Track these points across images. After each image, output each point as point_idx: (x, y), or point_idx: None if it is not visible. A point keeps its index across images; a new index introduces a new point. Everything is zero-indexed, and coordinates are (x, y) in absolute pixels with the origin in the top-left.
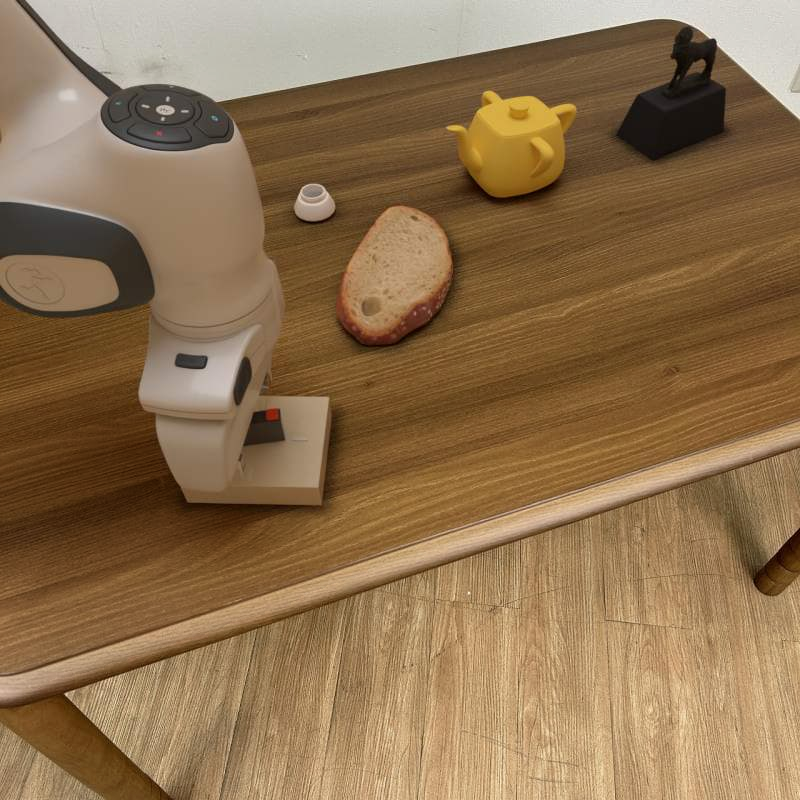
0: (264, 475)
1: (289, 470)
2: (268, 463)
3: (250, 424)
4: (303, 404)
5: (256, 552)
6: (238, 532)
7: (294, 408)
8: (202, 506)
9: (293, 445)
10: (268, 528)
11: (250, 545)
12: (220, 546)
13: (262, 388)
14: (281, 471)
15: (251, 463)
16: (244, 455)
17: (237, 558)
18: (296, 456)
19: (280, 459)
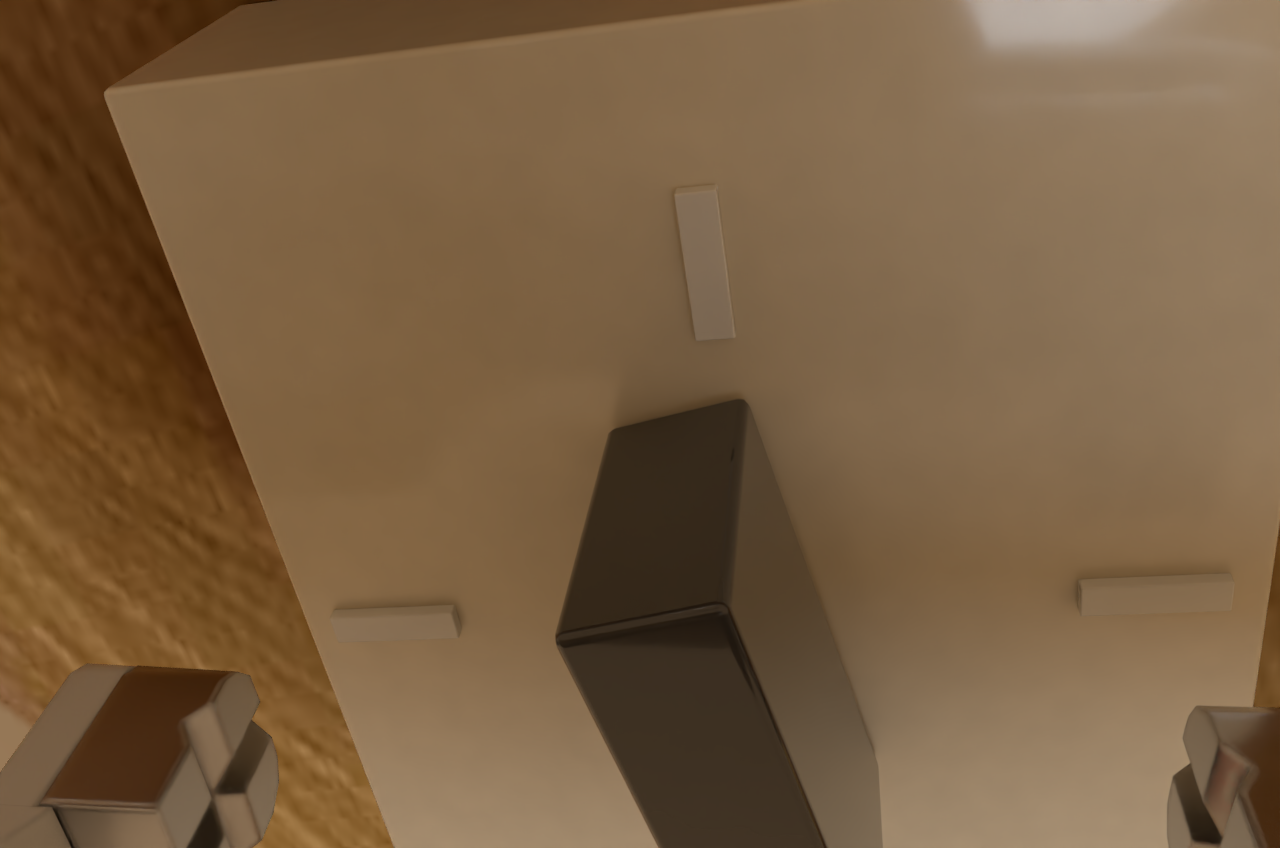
0: (427, 697)
1: (513, 819)
2: (531, 710)
3: (660, 842)
4: (1140, 844)
5: (94, 539)
6: (166, 421)
7: (1101, 791)
8: None
9: None
10: (258, 570)
11: (118, 502)
12: (33, 341)
13: (1190, 839)
14: (489, 784)
15: (505, 604)
16: (564, 548)
17: (12, 453)
18: (636, 844)
19: (588, 767)
